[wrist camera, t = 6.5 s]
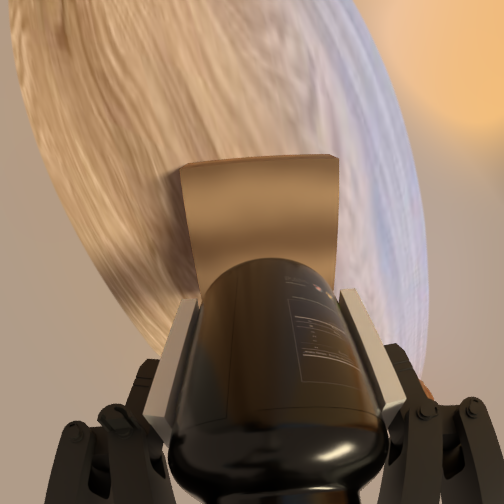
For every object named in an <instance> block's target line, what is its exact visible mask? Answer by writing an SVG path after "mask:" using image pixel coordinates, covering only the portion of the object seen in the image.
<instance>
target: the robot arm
mask: <svg viewBox="0 0 504 504" xmlns="http://www.w3.org/2000/svg"><path fill="white" fill-rule="evenodd" d="M339 305H340V308H341V310H342V312H343V315H344V317H345V319H346V322H347V324H348V326H349V329H350V331H351V334H352V336H353V339H354V341H355V344H356V346H357V349H358V351H359V354H360V356H361V359H362V361H363V364H364V367H365V369H366V372H367V374H368V377H369V380H370V382H371V385H372V388H373V391H374V393H375V396H376V399H377V402H378V405H379V407H380V410H381V413H382V416H383V419H384V422H385V426H386V430H388V431H389V434H390V438H389V450H388V455H387V458H386V461H385V465H384V471H383V477H382V483H381V488H380V493H379V498H378V503H377V504H439V501H440V492H441V499H442V504H504V459H503V456H502V452H501V449H500V446H499V442H498V440H497V436H496V433H495V431H494V428H493V425H492V422H491V419H490V417H489V414H488V411H487V409H486V406H485V405H484V403H483V402H482V401H481V400H480V399H478V398H476V397H468V398H466V399H464V400H463V401H462V403H461V404H460V405H451V406H443V405H438V403H437V402H435V401H434V400H432V399H429V398H428V397H427V396H426V394H425V392H424V390H423V387H422V385H421V383H420V381H419V379H418V377H417V375H416V373H415V371H414V369H413V367H412V365H411V363H410V362H409V359H408V357H407V355H406V353H405V351H404V350H403V349H402V348H401V347H400V346H399V345H397V344H396V343H394V344H389V345H383V344H382V341H381V339H380V337H379V335H378V333H377V331H376V329H375V327H374V325H373V323H372V321H371V319H370V317H369V315H368V313H367V311H366V309H365V307H364V305H363V303H362V301H361V299H360V297H359V295H358V293H357V291H356V289H355V288H354V289H344V290H340V297H339ZM198 313H199V306H198V302H197V299H182V300H181V303H180V305H179V308H178V311H177V313H176V316H175V319H174V322H173V324H172V327H171V330H170V333H169V336H168V338H167V341H166V344H165V347H164V350H163V353H162V356H161V359H160V360H158V359H147V360H146V361H145V362H144V363H143V364H142V365H141V366H140V368H139V370H138V373H137V375H136V379H135V381H134V383H133V386H132V388H131V391H130V394H129V397H128V399H127V402H126V405H125V406H124V405H122V404H111V405H108V406H106V407H105V408H103V409H102V410H101V412H100V413H99V415H98V419H97V421H98V422H99V423H100V424H101V425H102V427H88V426H87V425H86V424H85V423H84V422H81V421H73V422H70V423H69V424H67V425H66V426H65V428H64V430H63V432H62V435H61V438H60V441H59V445H58V448H57V452H56V455H55V459H54V463H53V467H52V471H51V475H50V479H49V483H48V488H47V493H46V498H45V503H44V504H176V501H175V497H174V494H173V490H172V486H171V482H170V478H169V473H168V469H167V465H166V460H165V456H164V453H163V451H162V447H163V443H165V445H166V446H167V447H168V448H169V442H170V437H171V432H172V427H173V422H174V417H175V412H176V407H177V403H178V398H179V393H180V389H181V384H182V380H183V375H184V371H185V366H186V362H187V358H188V353H189V349H190V345H191V341H192V337H193V332H194V328H195V324H196V320H197V317H198Z"/></svg>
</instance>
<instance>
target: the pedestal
mask: <svg viewBox="0 0 504 504" xmlns="http://www.w3.org/2000/svg"><path fill="white" fill-rule="evenodd" d="M179 172H180V179H181V186H182V193H183V199H184V206H185V212H186V218H187V224H188V230H189V236H190V242H191V247H192V253H193V258H194V264H195V269H196V274H197V279H198V284H199V289H200V294H201V298H202V300H203V297H204V295H205V293H206V291H207V290H208V288H209V287H210V285H211V284H212V283H213V282H214V281H215V280H216V279H217V278H218V277H219V276H220V275H221V274H222V273H224V272H225V271H227V270H228V269H230V268H232V267H233V266H235V265H238V264H240V263H243V262H246V261H249V260H253V259H259V258H285V259H290V260H294V261H297V262H300V263H302V264H305V265H306V266H308V267H310V268H312V269H313V270H315V271H316V272H317V273H319V274H320V275H321V276H322V277H323V278H324V279H325V280H326V281H327V283H328V284H329V286H330V287H331V289H332V291H333V290H334V279H335V266H336V252H337V234H338V209H339V158H336V157H334V156H332V155H330V154H307V155H278V156H261V157H246V158H234V159H223V160H213V161H204V162H196V163H188V164H187V165H185V166H183V167H182V168H180V169H179Z"/></svg>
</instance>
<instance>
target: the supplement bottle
mask: <svg viewBox="0 0 504 504" xmlns="http://www.w3.org/2000/svg"><path fill="white" fill-rule="evenodd" d="M388 450H389V438H388V433H387V430H386V426H385V422H384V419H383V416H382V413H381V410H380V407H379V405H378V402H377V399H376V396H375V393H374V391H373V388H372V385H371V382H370V380H369V377H368V374H367V372H366V369H365V367H364V364H363V361H362V359H361V356H360V354H359V351H358V349H357V346H356V344H355V341H354V339H353V336H352V334H351V331H350V329H349V326H348V324H347V322H346V319H345V317H344V315H343V312H342V310H341V308H340V305H339V303H338V301H337V299H336V297H335V295H334V292H333V291H332V289H331V287H330V286H329V284H328V283H327V281H326V280H325V279H324V278H323V277H322V276H321V275H320V274H319V273H317V272H316V271H315V270H313V269H312V268H310V267H308V266H306V265H305V264H302V263H300V262H297V261H294V260H290V259H285V258H259V259H253V260H249V261H246V262H243V263H240V264H238V265H235V266H233V267H232V268H230V269H228V270H227V271H225V272H224V273H222V274H221V275H220V276H219V277H218V278H217V279H216V280H215V281H214V282H213V283H212V284H211V285H210V287H209V288H208V290H207V291H206V293H205V295H204V297H203V300H202V302H201V306H200V310H199V313H198V317H197V320H196V324H195V328H194V332H193V337H192V341H191V345H190V349H189V353H188V358H187V362H186V366H185V371H184V375H183V380H182V384H181V389H180V393H179V398H178V403H177V407H176V412H175V417H174V422H173V427H172V432H171V437H170V442H169V450H168V464H169V468H170V470H171V473H172V475H173V477H174V479H175V480H176V482H177V483H178V484H179V486H180V487H181V488H182V489H183V490H184V491H185V492H187V493H188V494H189V495H191V496H192V497H193V498H195V499H196V500H198V501H199V502H201V503H202V504H361V499H360V491H361V490H362V489H363V488H364V487H365V486H366V485H368V484H369V483H370V482H371V481H372V480H373V479H374V478H375V477H376V476H377V474H378V473H379V471H380V470H381V469H382V467H383V465H384V463H385V461H386V458H387V455H388Z"/></svg>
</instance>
